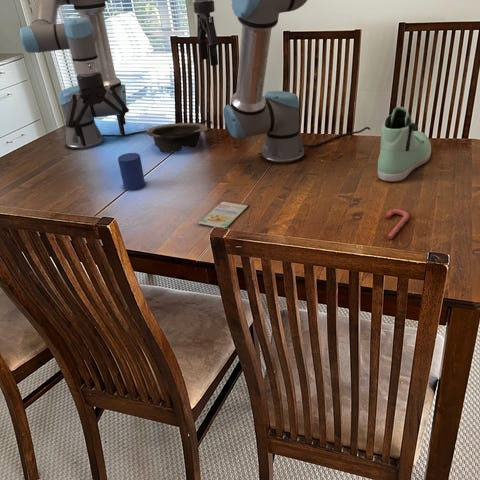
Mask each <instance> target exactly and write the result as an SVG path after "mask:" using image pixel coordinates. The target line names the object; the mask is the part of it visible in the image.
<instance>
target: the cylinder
mask: <svg viewBox="0 0 480 480" xmlns="http://www.w3.org/2000/svg"><path fill="white" fill-rule="evenodd" d="M117 161H118V162H117V163H118V166H119V171H120V175H121V180H122V186H123V189H124V190H125V191H138V190H141V189H143V188H144V187H146V181H145V174H144V169H143V164H142V159H141V154H139V152H138V153H137V152H128V153H127V152H126V153H123V154H120V155H119V156H118V157H117Z"/></svg>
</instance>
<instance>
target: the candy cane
mask: <svg viewBox="0 0 480 480" xmlns="http://www.w3.org/2000/svg"><path fill="white" fill-rule="evenodd" d="M393 215H400V216H402V217H401V219H400V220H399V221H398V223H396V225H395V226H394V227H393V228H392V230H391V231H390V232H389V233H388V234H387V239H389V240H393V238H394V237H395V236H396V235H397V233H399V231H400V230H401V228H403V226H404V225H405V224H406V223H407V221H408V220H409V218H410V215H409V213H408V212H407V211H406V210H403V209H397V208H396V209H395V208H394V209H390V210H388V211H387V212H386V214H385V217H386V219H389V218H390V219H391V217H392V216H393ZM404 222H405V223H404ZM400 227H401V228H400ZM399 228H400V229H399ZM398 229H399V230H398ZM397 230H398V231H397ZM396 232H397V233H396ZM395 233H396V234H395ZM394 234H395V235H394ZM393 235H394V236H393ZM388 236H390V237H391V236H393V237H391V238H390V237H388Z"/></svg>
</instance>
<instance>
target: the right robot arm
mask: <svg viewBox="0 0 480 480" xmlns="http://www.w3.org/2000/svg"><path fill="white" fill-rule="evenodd" d="M307 2H308V0H231V8H232V11H233V13H234V15H235V16H236V17H237V21H238V23H240V24H241V35H240V44H239V45H240V46H239V57H238V70H237V82H236V92H235V93H233V94H232V96H231V98H230V104H226V105H225V106H224V108H223V118H224V122H225V123H224V124H225V126H226V129H227V131H228V133H229V134H230V136H231V137H232V138H233V139H235V140H236V139H237V140H241V139H247V138H250V137H254V136H255V137H256V136H259V135H263V134H266V138H265V141H264V143H263V147H262V153H261V154H262V159H263V161H265V162H267V163H271V164H275V165H276V164H277V165H287V164H292V163H296V162H299V161H301V160H302V159H304V157H305V150H304V148H313V147H318V146H320V145H324V144H326V143H328V142H331V141H334V140H335V139H338V138H341V137H344V136H349V135H355V134H360V133H362V132H364V131H365V130H369V131H370V130H371V128H370V127H369V126H365V127H363V128H362V129H361V130H357V131H351V132H345V133H342V134H338V135H335V136H333V137H330V138H328V139H325V140H323V141H321V142H318V143H314V144H303V142H302V141H301V137H300V102H299V101H300V100H299V97H298V95H297V94H296V93H293V92H290V91H284V90H270V91H269V90H268V91H267V92H265V93H264V87H265V79H266V74H267V73H266V72H267V65H268V57H269V50H270V43H271V36H272V35H271V34H272V29H273V28H275V27H276V26H277V25H278V22H279V18H280V14H281V13H287V12H289V13H290V12H293V11H296V10H298V9H300V8H302V7H303V6H304V5H305V4H306V3H307ZM192 4H193V12H194V14H196V20H197V21H196V24H197V25H196V28H197V29H196V39H197V40H198V43H199V52H200V60H201V61H203V60H204V61H205V60H208V59H209V62H210V66H211V67H215V66H218V65H219V58H218V46H219V40H218V35H217V30H216V25H215V20H214V16H213V15H212V16H211V13H214V12H215V11H216V10H215V9H216V7H215V1H214V0H194V2H193V3H192ZM263 93H264V96H263Z"/></svg>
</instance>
